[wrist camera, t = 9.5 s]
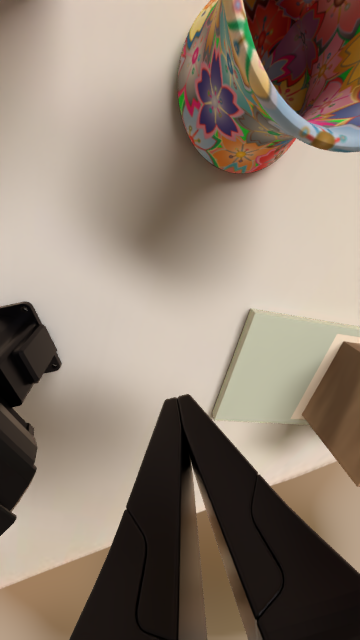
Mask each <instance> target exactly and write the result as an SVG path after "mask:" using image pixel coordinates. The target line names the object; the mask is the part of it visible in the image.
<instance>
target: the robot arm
mask: <svg viewBox="0 0 360 640" xmlns="http://www.w3.org/2000/svg"><path fill="white" fill-rule="evenodd" d="M23 307H27V309H28V311H26V310H24V309H23ZM56 351H57V349H56V347H55V345H54V343H53V341H52V339H51V337H50V335H49V333H48V331H47V329H46V327H45V326H44V325H43V324H42V323H41V321H40V319H39V317H38V315H37V313H36V311H35V309H34V307H33V306H32V304H31V303H29V302H20V303H16V304H11V305H6V306H2V307H0V536H1V535H2V534H3V533H4V532H5V531H6V530H7V529H8V528H9V527H10V526H11V525H12V524H13V523H14V522H15V520H16V515H15V514H13V513H12V510H13V509H14V508H15V506H16V505H17V504H18V502H19V501H20V499H21V497H22V496H23V494H24V493H25V492H26V490H27V489H28V487H29V485H30V483H31V481H32V479H33V477H34V475H35V472H36V469H37V468H36V466H35V465H34V462H35V458H36V452H37V444H36V441H35V438H34V437H33V436H34V428H33V427H32V426H31V425H30V424H29V423H26V422H25V421H24V420H23V419H22V418H21V417H20V416H19V415H18V414H17V413H16V412H15V411H14V409H13V408H12V407H16V406H20V405H21V404H22V403H23V401H24V399H25V398H26V396H27V394H28V393H29V391H30V390H31V388H32V386H33V385H34V384H35V383H38V382H39V380H40V379H41V377H42V375H43V374H44V373H48V372H53V371H57V370H59V368H60V367H61V361H60V359H59V357H58V355H57V353H56ZM53 364H56V365H57V366H54V365H53ZM191 463H192V465H191ZM192 467H193V470H194V474H195V477H196V480H197V483H198V486H199V489H200V492H201V495H202V498H203V502H204V505H205V508H206V511H207V514H208V517H209V520H210V523H211V526H212V529H213V532H214V535H215V539H216V541H217V545H218V548H219V551H220V554H221V557H222V560H223V563H224V566H225V569H226V572H227V575H228V579H229V581H230V585H231V588H232V591H233V594H234V597H235V600H236V603H237V606H238V609H239V613H240V616H241V619H242V622H243V625H244V628H245V631H246V634H247V637H248V640H360V574H359V573H358V572H357V571H356V570H355V569H354V568H353V567H352V566H351V565H350V564H349V563H348V562H346V560H344V559H343V558H342V557H341V556H340V555H339V554H338V553H337V552H336V551H335V550H334V549H333V548H332V547H330V545H328V544H327V543H326V542H325V541H324V540H323V539H322V538H321V537H320V536H319V535H318V534H317V533H316V532H315V531H313V530H312V529H311V528H310V527H309V526H308V525H307V524H306V523H305V522H304V521H303V520H302V519H301V518H300V517H299V516H298V515H297V514H296V513H295V512H294V511H293V510H292V509H291V508H290V507H289V506H288V505H287V504H286V503H285V502H284V501H283V500H282V499H281V498H280V497H279V495H278V494H277V493H276V492H275V491H274V490H273V489H272V488H271V487H270V486H269V484H268V483H267V482H266V481H265V480H264V479H263V478H262V476H261V475H258V472H257V471H256V470H255V469H254V467H253V466H252V465H251V464H250V463H249V462H248V461H247V459H246V458H245V457H244V456H243V455H242V454H241V453H240V451H239V450H238V449H237V448H236V447H235V446H234V445H233V443H232V442H231V441H230V440H229V439H228V438H227V437H226V435H225V434H224V433H223V432H222V431H221V430H220V429H219V428H218V426H217V425H216V424H215V423H214V422H213V421H212V420H211V418H210V417H209V416H208V415H207V414H206V413H205V412H204V410H203V409H202V408H201V407H200V406H199V405H198V404H197V402H196V401H195V400H194V399H193V398H192V397H191V396H190V395H189V394H186V395H182V396H179V397H178V399H177V398H176V397H174V398H170V399H166V400H165V401H164V404H163V406H162V409H161V412H160V415H159V417H158V420H157V423H156V426H155V428H154V431H153V434H152V437H151V439H150V442H149V445H148V448H147V450H146V453H145V456H144V459H143V461H142V464H141V467H140V470H139V472H138V475H137V478H136V481H135V483H134V486H133V489H132V492H131V494H130V497H129V500H128V503H127V506H126V508H127V509H126V510H125V511H124V513H123V516H122V519H121V522H120V524H119V527H118V530H117V532H116V535H115V537H114V540H113V543H112V545H111V548H110V550H109V553H108V555H107V558H106V560H105V562H104V564H103V567H102V569H101V571H100V574H99V576H98V578H97V580H96V583H95V585H94V587H93V589H92V592H91V594H90V596H89V598H88V600H87V602H86V605H85V607H84V609H83V611H82V613H81V615H80V618H79V620H78V622H77V624H76V626H75V628H74V631H73V633H72V635H71V637H70V639H69V640H207V630H206V618H205V607H204V597H203V586H202V575H201V564H200V551H199V541H198V529H197V518H196V506H195V495H194V484H193V473H192Z"/></svg>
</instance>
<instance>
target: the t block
mask: <svg viewBox="0 0 360 640" xmlns="http://www.w3.org/2000/svg"><path fill="white" fill-rule="evenodd" d="M302 416H303V417H304V418H305V420H306V421H307V422H308V423H309V425H310V426H311V427H312V429H313V430H314V431H315V433H316V434H317V435H318V436H319V438H320V439H321V440H322V442H323V443H324V444H325V446H326V447H327V448H328V449H329V451H330V452H331V453H332V455H333V456H334V457H335V459H336V460H337V461H338V462H339V464H340V465H341V466H342V468H343V469H344V470H345V472H346V473H347V474H348V475H349V477H350V478H351V479H352V481H353V482H354V483H355V484H356V486H357V487H360V344H359V343H352V342H346V341H343V343H342V345H341V347H340V348H339V350H338V352H337V354H336V355H335V357H334V359H333V361H332V362H331V364H330V366H329V368H328V369H327V371H326V373H325V375H324V376H323V378H322V380H321V382H320V383H319V385H318V387H317V389H316V390H315V392H314V394H313V396H312V397H311V399H310V401H309V403H308V404H307V406H306V408H305V410H304V411H303V413H302Z"/></svg>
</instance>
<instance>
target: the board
mask: <svg viewBox="0 0 360 640" xmlns="http://www.w3.org/2000/svg"><path fill="white" fill-rule="evenodd" d="M343 341H346V342H352V343H359V344H360V327H358V326H352V325H346V324H340V323H334V322H328V321H322V320H316V319H310V318H304V317H298V316H292V315H287V314H281V313H275V312H269V311H263V310H257V309H250V312H249V315H248V317H247V320H246V323H245V326H244V328H243V331H242V334H241V336H240V339H239V342H238V344H237V347H236V350H235V353H234V355H233V358H232V361H231V363H230V366H229V369H228V372H227V374H226V377H225V380H224V382H223V385H222V388H221V391H220V393H219V396H218V399H217V401H216V404H215V407H214V409H213V412H212V415H213V417H214V420H216V421H237V422H257V423H278V424H298V425H309V423H308V422H307V421H306V420H305V418H304V417H303V416H302V413H303V411H304V410H305V408H306V406H307V404H308V403H309V401H310V399H311V397H312V396H313V394H314V392H315V390H316V389H317V387H318V385H319V383H320V382H321V380H322V378H323V376H324V375H325V373H326V371H327V369H328V368H329V366H330V364H331V362H332V361H333V359H334V357H335V355H336V354H337V352H338V350H339V348H340V347H341V345H342V343H343Z"/></svg>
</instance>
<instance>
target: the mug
mask: <svg viewBox="0 0 360 640" xmlns="http://www.w3.org/2000/svg"><path fill="white" fill-rule="evenodd" d="M178 100H179V107H180V112H181V116H182V120H183V123H184V126H185V129H186V131H187V134H188V136H189V138H190V140H191V141H192V143H193V145H194V146H195V148H196V149H197V150H198V152H199V153H200V154H201V155H202V156H203V157H204V158H205V159H206V160H207V161H209V162H210V163H211V164H213V165H214V166H216V167H218V168H220V169H222V170H225V171H228V172H232V173H250V172H254V171H258V170H260V169H263V168H265V167H267V166H269V165H270V164H272V163H273V162H275V161H276V160H277V159H278V158H280V157H281V156H282V155H283V154H284V153H285V152H286V151H287V150H288V148H289V147H290V146H291V145H292V144H293V142H294V141H295V139H296V138H297V139H299V140H301V141H302V142H304V143H306V144H308V145H311V146H314V147H317V148H319V149H324V150H328V151H333V152H359V151H360V0H211V1H210V2H209V3H208V4H207V5H206V6H205V7H204V9H203V10H202V11H201V12H200V14H199V15H198V17H197V18H196V20H195V21H194V23H193V25H192V27H191V29H190V31H189V33H188V36H187V38H186V41H185V44H184V47H183V50H182V54H181V58H180V64H179V71H178Z"/></svg>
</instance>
